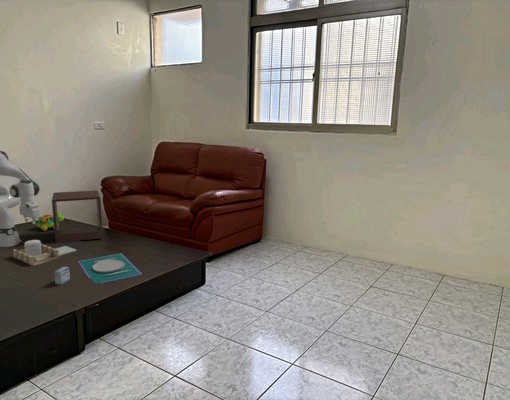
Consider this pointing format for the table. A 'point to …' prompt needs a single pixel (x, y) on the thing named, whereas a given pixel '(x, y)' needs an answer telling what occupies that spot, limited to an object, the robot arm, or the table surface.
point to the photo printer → (33, 248)
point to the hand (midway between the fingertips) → (30, 222)
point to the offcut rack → (30, 259)
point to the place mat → (109, 268)
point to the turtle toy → (48, 221)
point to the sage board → (65, 250)
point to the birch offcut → (41, 256)
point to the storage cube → (82, 232)
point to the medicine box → (62, 275)
